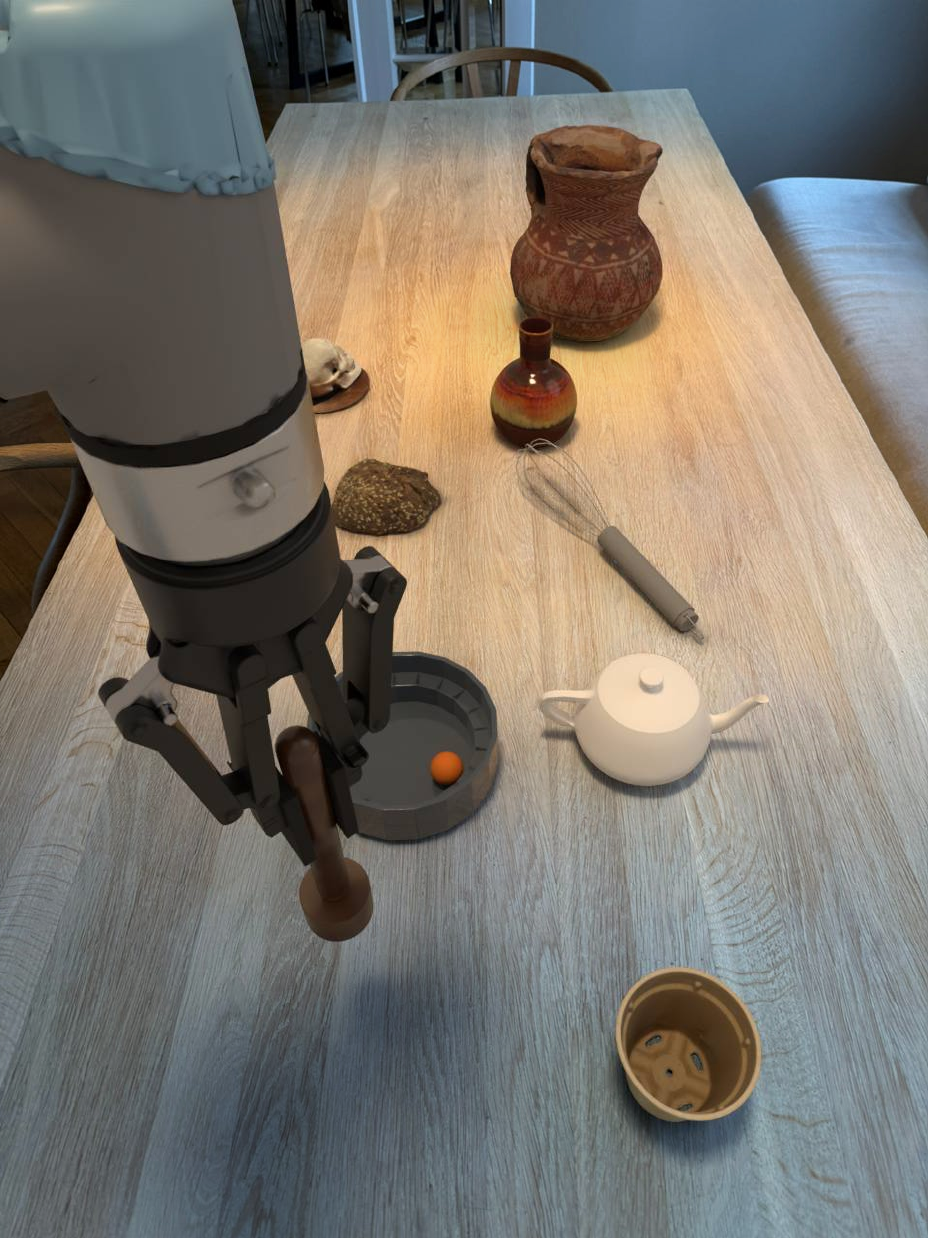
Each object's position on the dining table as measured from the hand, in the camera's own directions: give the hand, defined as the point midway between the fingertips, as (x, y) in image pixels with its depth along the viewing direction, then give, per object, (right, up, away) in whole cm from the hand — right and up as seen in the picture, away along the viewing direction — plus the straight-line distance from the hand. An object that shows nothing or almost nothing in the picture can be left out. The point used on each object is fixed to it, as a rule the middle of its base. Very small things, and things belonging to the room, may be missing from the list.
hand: (319, 830), depth 48 cm
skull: (-11, +44, +76) cm, 89 cm away
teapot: (+25, 0, +36) cm, 43 cm away
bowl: (+3, -2, +35) cm, 35 cm away
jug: (+26, +57, +87) cm, 107 cm away
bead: (+6, -2, +31) cm, 32 cm away
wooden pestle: (0, -7, +9) cm, 11 cm away
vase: (+17, +36, +68) cm, 79 cm away
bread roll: (-1, +25, +60) cm, 65 cm away
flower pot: (+23, -22, +16) cm, 36 cm away
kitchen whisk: (+24, +20, +54) cm, 62 cm away
